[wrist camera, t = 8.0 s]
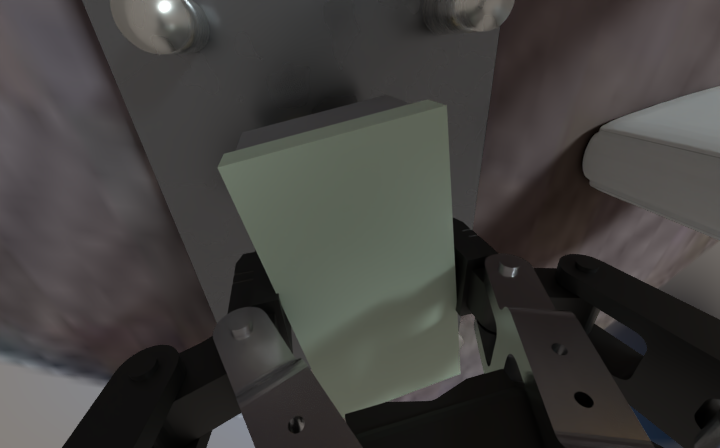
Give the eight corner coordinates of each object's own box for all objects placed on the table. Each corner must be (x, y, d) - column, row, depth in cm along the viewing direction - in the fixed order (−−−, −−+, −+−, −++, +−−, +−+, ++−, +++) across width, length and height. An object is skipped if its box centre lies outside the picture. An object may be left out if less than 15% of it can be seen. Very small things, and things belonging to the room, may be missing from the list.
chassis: (499, -91, 11) (596, -152, 8) (451, 320, 22) (484, 370, 18) (59, -93, 9) (-75, -182, 5) (244, 371, 19) (238, 440, 16)
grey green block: (388, 87, 10) (446, 105, 7) (418, 302, 15) (460, 373, 12) (236, 126, 10) (217, 167, 6) (320, 336, 15) (335, 421, 11)
